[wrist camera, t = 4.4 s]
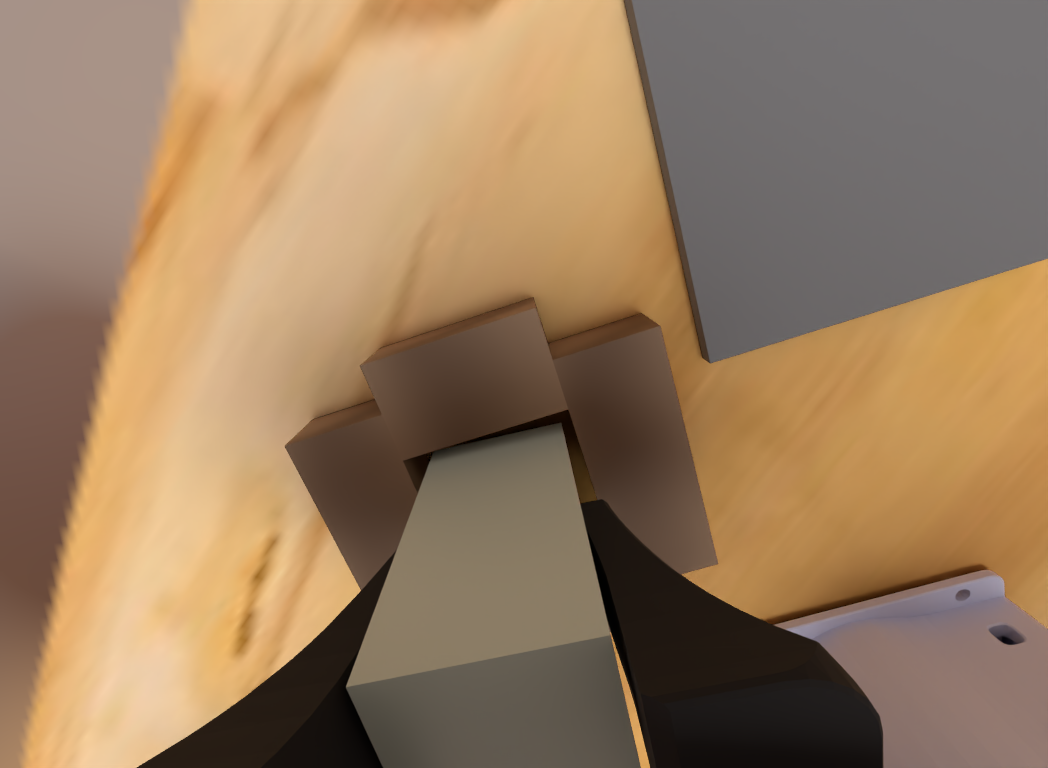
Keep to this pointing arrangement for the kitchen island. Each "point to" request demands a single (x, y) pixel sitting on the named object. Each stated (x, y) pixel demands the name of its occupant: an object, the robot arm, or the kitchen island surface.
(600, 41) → the kitchen island surface
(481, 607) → the plug
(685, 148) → the mat
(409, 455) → the brown flat piece
